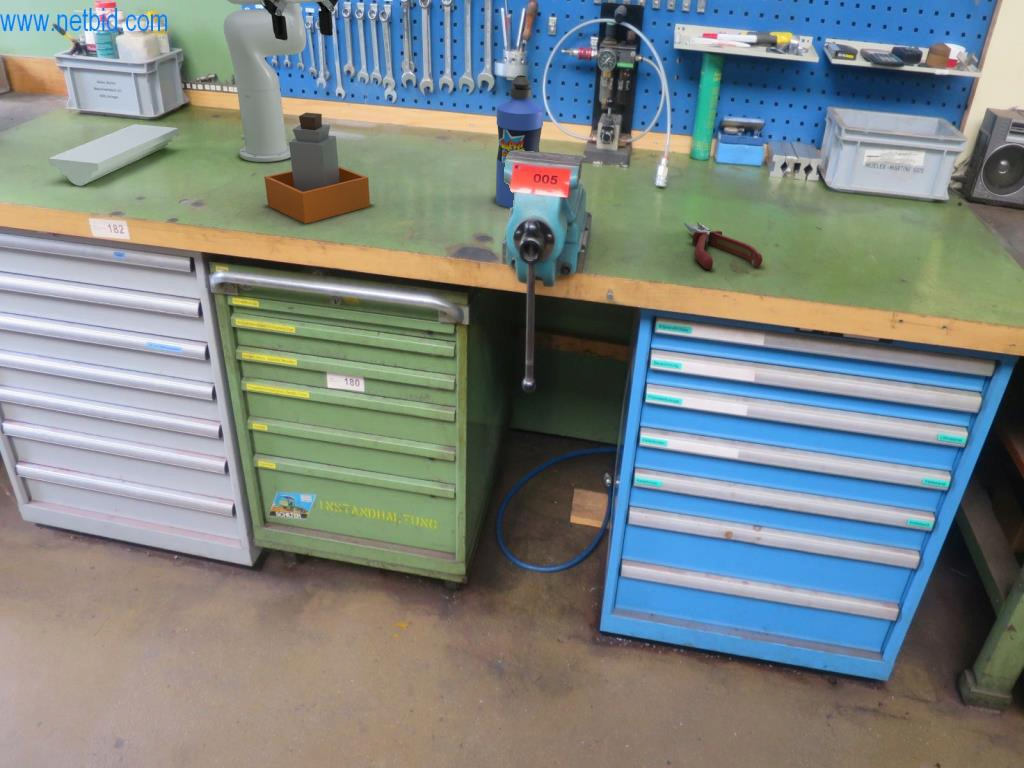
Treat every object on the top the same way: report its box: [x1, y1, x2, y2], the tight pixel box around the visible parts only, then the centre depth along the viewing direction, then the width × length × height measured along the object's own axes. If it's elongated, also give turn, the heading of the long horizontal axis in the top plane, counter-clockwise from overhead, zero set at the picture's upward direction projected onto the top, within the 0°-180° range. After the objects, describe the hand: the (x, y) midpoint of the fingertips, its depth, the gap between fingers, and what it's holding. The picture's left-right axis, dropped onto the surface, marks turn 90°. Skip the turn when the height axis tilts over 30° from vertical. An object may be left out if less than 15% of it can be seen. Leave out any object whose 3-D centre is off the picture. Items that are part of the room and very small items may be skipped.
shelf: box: [48, 123, 180, 187], centre depth 177 cm, size 12×30×5 cm, turn 169°
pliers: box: [683, 221, 764, 270], centre depth 147 cm, size 12×20×3 cm, turn 12°
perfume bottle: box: [288, 112, 340, 192], centre depth 156 cm, size 7×7×18 cm
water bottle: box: [495, 74, 545, 209], centre depth 160 cm, size 9×9×25 cm
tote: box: [263, 165, 371, 225], centre depth 159 cm, size 13×15×6 cm
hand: (304, 37), depth 146 cm, fingers open, 9 cm apart
